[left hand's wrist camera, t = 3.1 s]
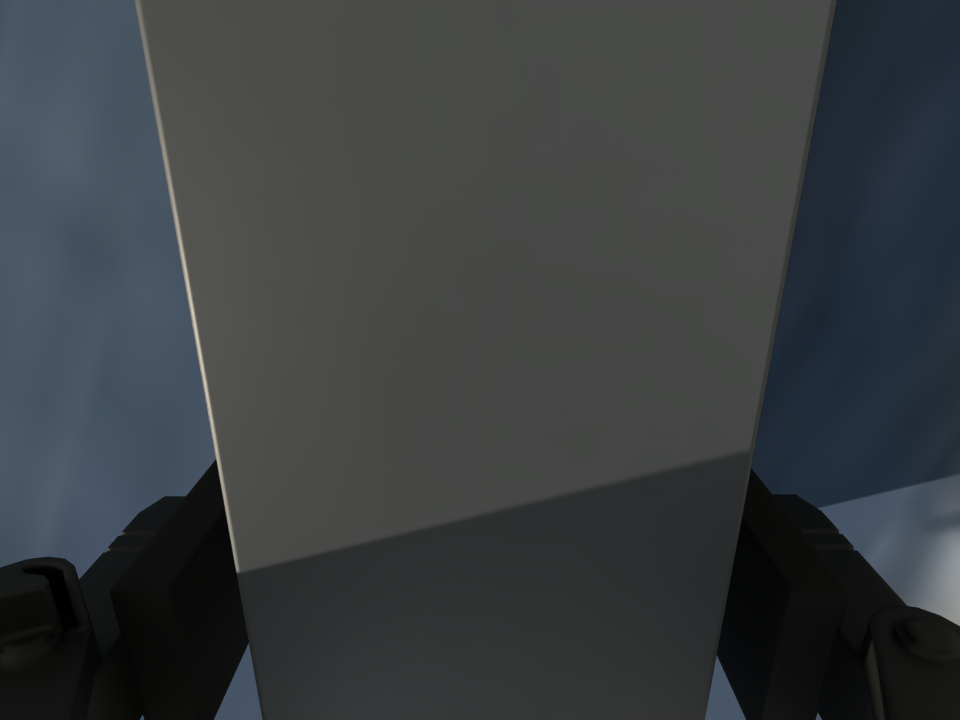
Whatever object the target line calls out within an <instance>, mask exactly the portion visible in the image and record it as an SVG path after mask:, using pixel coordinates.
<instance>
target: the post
mask: <svg viewBox="0 0 960 720" xmlns="http://www.w3.org/2000/svg"><path fill="white" fill-rule="evenodd" d="M836 2H837V0H135V4H136V10H137V15H138V21H139V27H140V32H141V38H142V44H143V49H144V55H145V60H146V66H147V72H148V77H149V83H150V89H151V94H152V100H153V105H154V111H155V117H156V122H157V128H158V134H159V139H160V145H161V150H162V156H163V162H164V167H165V173H166V179H167V184H168V190H169V195H170V201H171V207H172V212H173V218H174V224H175V229H176V235H177V240H178V246H179V252H180V257H181V263H182V269H183V274H184V280H185V285H186V291H187V297H188V302H189V308H190V314H191V319H192V325H193V330H194V336H195V342H196V347H197V353H198V359H199V364H200V370H201V375H202V381H203V387H204V392H205V398H206V404H207V409H208V415H209V420H210V426H211V432H212V437H213V443H214V449H215V454H216V460H217V465H218V471H219V477H220V482H221V488H222V494H223V499H224V505H225V510H226V516H227V522H228V527H229V533H230V539H231V544H232V550H233V555H234V561H235V567H236V572H237V578H238V584H239V589H240V595H241V600H242V606H243V612H244V617H245V623H246V629H247V634H248V640H249V645H250V651H251V657H252V662H253V668H254V674H255V679H256V685H257V690H258V696H259V702H260V707H261V713H262V719H263V720H705V715H706V710H707V704H708V699H709V693H710V688H711V682H712V677H713V672H714V666H715V661H716V655H717V650H718V644H719V639H720V633H721V628H722V623H723V617H724V612H725V606H726V601H727V595H728V590H729V584H730V579H731V574H732V568H733V563H734V557H735V552H736V546H737V541H738V535H739V530H740V525H741V519H742V514H743V508H744V503H745V497H746V492H747V486H748V481H749V476H750V470H751V465H752V459H753V454H754V448H755V443H756V437H757V432H758V427H759V421H760V416H761V410H762V405H763V399H764V394H765V388H766V383H767V378H768V372H769V367H770V361H771V356H772V350H773V345H774V340H775V334H776V329H777V323H778V318H779V312H780V307H781V301H782V296H783V291H784V285H785V280H786V274H787V269H788V263H789V258H790V252H791V247H792V242H793V236H794V231H795V225H796V220H797V214H798V209H799V203H800V198H801V193H802V187H803V182H804V176H805V171H806V165H807V160H808V154H809V149H810V144H811V138H812V133H813V127H814V122H815V116H816V111H817V105H818V100H819V95H820V89H821V84H822V78H823V73H824V67H825V62H826V57H827V51H828V46H829V40H830V35H831V29H832V24H833V18H834V13H835V8H836Z"/></svg>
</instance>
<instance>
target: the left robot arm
mask: <svg viewBox="0 0 960 720" xmlns="http://www.w3.org/2000/svg"><path fill="white" fill-rule="evenodd" d="M248 643H249V640H248V634H247V629H246V623H245V617H244V612H243V606H242V600H241V595H240V589H239V584H238V578H237V572H236V567H235V561H234V555H233V550H232V544H231V539H230V533H229V527H228V522H227V516H226V510H225V505H224V499H223V494H222V488H221V482H220V477H219V471H218V465H217V460H215V461H214V463H213V464H212V465H211V466H210V467H209V469H208V470H207V471H206V472H205V474H204V475H203V476H202V477H201V479H200V480H199V481H198V482H197V484H196V485H195V486H194V487H193V488H192V490H191V491H190V492H189V493H188V495H187V496H165V497H163V498H162V499H160V500H159V501H157V502H156V503H154V504H152V505H151V506H149V507H148V508H146V509H145V510H143V511H141V512H140V513H139V514H138V515H137V516H136V517H135V518H134V519H133V520H132V521H131V522H130V524H129V525H128V526H127V527H126V528H125V529H124V530H123V531H122V535H121V536H118V537H117V538H116V539H115V540H114V541H113V543H112V544H111V545H110V546H109V547H108V548H107V552H106V553H103V554H102V555H101V556H100V557H99V558H98V559H97V560H96V561H95V563H94V564H93V565H92V566H91V567H90V568H89V569H88V570H87V571H86V573H85V574H84V575H83V576H82V577H81V578H80V579H78V575H77V572H76V568H75V566H74V565H73V564H71V563H70V562H69V561H67V560H66V559H62V558H54V557H42V558H34V559H26V560H23V561H20V562H17V563H14V564H10V565H7V566H4V567H1V568H0V720H140V718H141V716H142V715H143V716H144V720H214V718H215V716H216V714H217V711H218V709H219V707H220V705H221V703H222V700H223V698H224V696H225V694H226V692H227V689H228V687H229V685H230V683H231V681H232V678H233V676H234V674H235V672H236V670H237V667H238V665H239V663H240V661H241V659H242V656H243V654H244V652H245V650H246V648H247V645H248ZM717 656H718V659H719V661H720V663H721V665H722V667H723V670H724V672H725V674H726V676H727V678H728V681H729V683H730V685H731V687H732V689H733V692H734V694H735V696H736V698H737V700H738V703H739V705H740V707H741V709H742V711H743V714H744V716H745V718H746V720H816V716H817V712H818V713H819V715H820V717H821V718H822V720H960V626H958V625H956V624H955V623H953V622H951V621H949V620H947V619H946V618H944V617H942V616H940V615H937V614H934V613H932V612H929V611H926V610H923V609H920V608H917V607H910V606H907V605H906V604H905V603H904V602H903V601H902V600H901V598H900V597H899V596H898V595H897V594H896V593H895V592H894V591H893V590H892V589H891V587H890V586H889V585H888V584H887V583H886V582H885V581H884V580H883V579H882V577H881V576H880V575H879V574H878V573H877V572H876V571H875V570H874V569H873V567H872V566H871V565H870V564H869V563H868V562H867V561H866V560H865V559H864V558H863V556H862V555H861V554H860V553H859V552H858V551H854V549H853V545H852V544H851V543H850V542H849V541H848V540H847V539H846V538H845V537H844V535H843V534H839V530H838V529H837V528H836V527H835V525H834V524H833V523H832V522H831V521H830V520H829V519H828V518H827V517H826V516H825V514H824V513H823V512H822V511H821V510H819V509H817V508H816V507H814V506H813V505H811V504H810V503H808V502H806V501H805V500H803V499H802V498H800V497H798V496H797V495H772V493H771V492H770V491H769V490H768V489H767V487H766V486H765V485H764V484H763V482H762V481H761V480H760V479H759V477H758V476H757V475H756V474H755V472H754V471H753V470H752V469H751V470H750V476H749V481H748V486H747V492H746V497H745V503H744V508H743V514H742V519H741V525H740V530H739V535H738V541H737V546H736V552H735V557H734V563H733V568H732V574H731V579H730V584H729V590H728V595H727V601H726V606H725V612H724V617H723V623H722V628H721V633H720V639H719V644H718V650H717Z"/></svg>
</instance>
